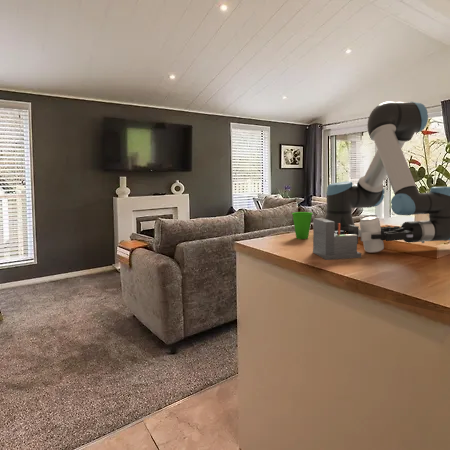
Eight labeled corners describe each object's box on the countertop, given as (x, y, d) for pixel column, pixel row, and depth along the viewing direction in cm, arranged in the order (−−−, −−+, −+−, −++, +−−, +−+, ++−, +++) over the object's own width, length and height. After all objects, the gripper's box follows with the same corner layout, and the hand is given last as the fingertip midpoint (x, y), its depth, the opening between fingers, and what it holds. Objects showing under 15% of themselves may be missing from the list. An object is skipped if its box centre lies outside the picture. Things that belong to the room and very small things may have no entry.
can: (388, 247, 123) (382, 214, 120) (376, 254, 120) (370, 221, 117) (372, 245, 128) (366, 214, 126) (360, 251, 125) (354, 220, 123)
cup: (290, 236, 159) (290, 212, 157) (310, 235, 159) (310, 211, 157) (293, 240, 150) (293, 214, 149) (314, 239, 150) (314, 214, 148)
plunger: (351, 243, 125) (351, 220, 124) (359, 247, 119) (360, 222, 118) (327, 245, 124) (327, 221, 122) (334, 248, 118) (335, 223, 117)
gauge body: (345, 250, 128) (346, 216, 126) (361, 257, 117) (362, 220, 116) (312, 252, 126) (313, 218, 125) (325, 259, 116) (326, 222, 114)
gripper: (435, 247, 116) (370, 251, 113) (398, 237, 135) (342, 240, 132) (437, 225, 115) (371, 228, 112) (399, 217, 134) (342, 220, 131)
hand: (356, 235), depth 122 cm, fingers closed on can, 6 cm apart
